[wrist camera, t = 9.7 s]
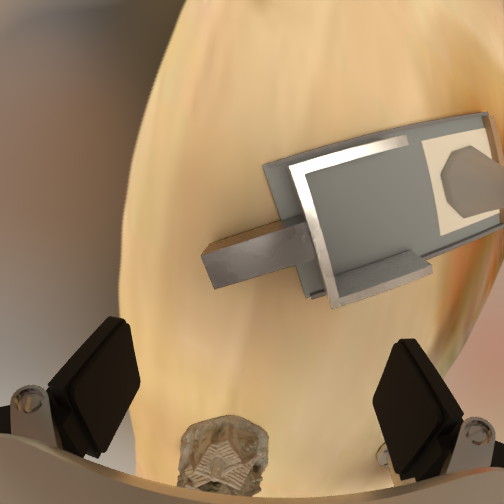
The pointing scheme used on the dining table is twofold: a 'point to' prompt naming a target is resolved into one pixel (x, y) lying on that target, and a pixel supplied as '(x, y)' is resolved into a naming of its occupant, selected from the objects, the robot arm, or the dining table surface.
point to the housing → (310, 243)
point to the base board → (389, 196)
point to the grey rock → (223, 456)
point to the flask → (473, 182)
